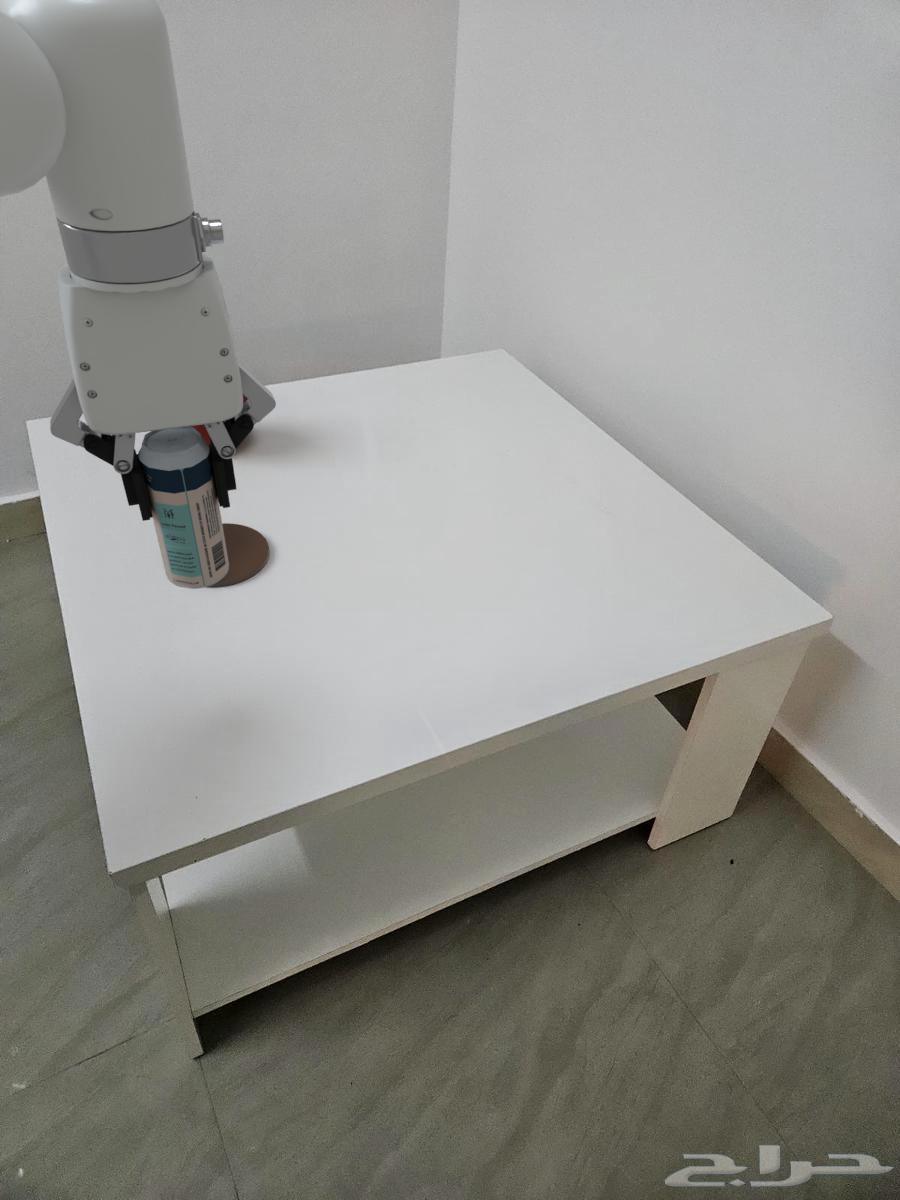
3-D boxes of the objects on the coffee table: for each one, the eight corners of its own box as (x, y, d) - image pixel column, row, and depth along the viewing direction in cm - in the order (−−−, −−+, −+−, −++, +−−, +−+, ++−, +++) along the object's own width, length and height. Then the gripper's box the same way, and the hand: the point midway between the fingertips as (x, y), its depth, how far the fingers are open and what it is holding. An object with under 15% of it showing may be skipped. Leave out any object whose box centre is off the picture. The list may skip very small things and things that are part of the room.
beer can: (222, 549, 67) (200, 417, 59) (236, 584, 63) (214, 449, 55) (162, 563, 65) (130, 428, 57) (173, 599, 62) (141, 462, 54)
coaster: (176, 596, 87) (175, 591, 86) (163, 537, 94) (162, 532, 94) (278, 575, 90) (278, 571, 90) (258, 520, 98) (258, 516, 97)
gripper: (266, 218, 53) (289, 461, 65) (-23, 234, 48) (59, 494, 60) (290, 256, 48) (310, 513, 60) (-32, 280, 43) (61, 554, 55)
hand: (184, 501), depth 60 cm, fingers closed on beer can, 4 cm apart
